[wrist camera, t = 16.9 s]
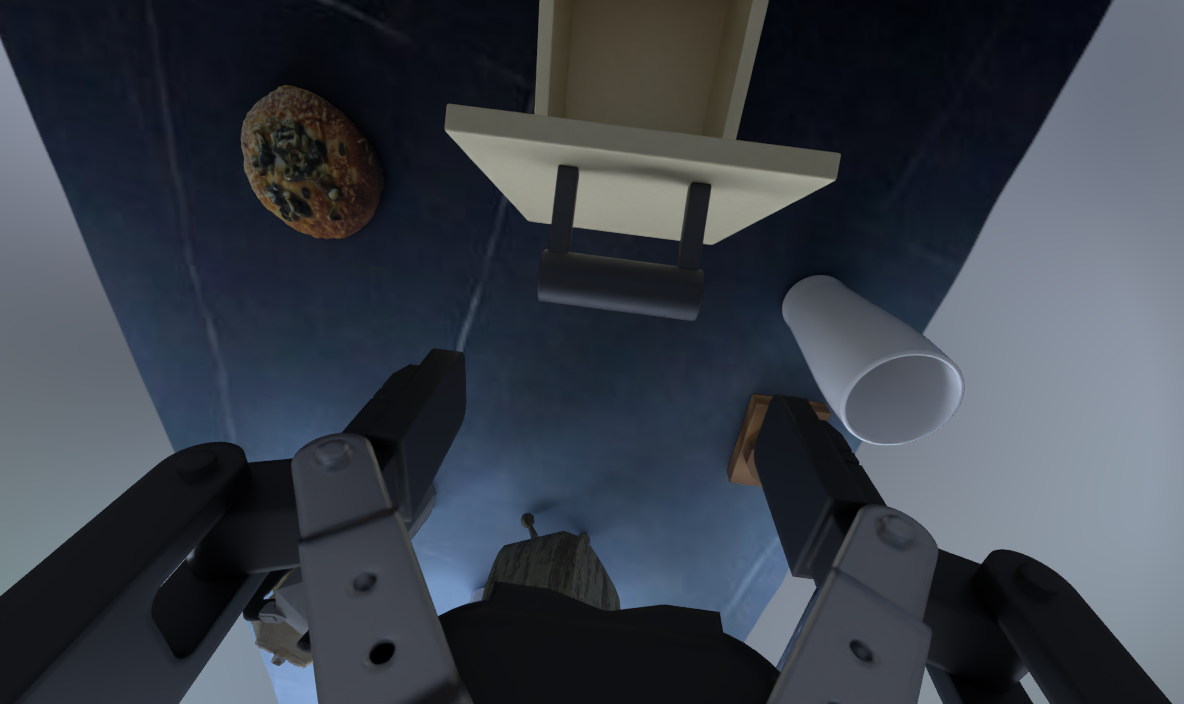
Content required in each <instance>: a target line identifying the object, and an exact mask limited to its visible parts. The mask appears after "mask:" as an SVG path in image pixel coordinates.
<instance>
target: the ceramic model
mask: <svg viewBox="0 0 1184 704" xmlns="http://www.w3.org/2000/svg"><path fill="white" fill-rule="evenodd" d="M296 568H297V567H295V568H294V569H293V570H292V571H291V572H289V573H288V574H287V575H285V576H284V577H283V578H282V579H281V580H280V581H279V583H278V584H277V585H276V586H275V587H274V588H273V595H272V596H271V597H270V598H269V599H272V598H276V589H277V588H279V586H280V585H281V584H282V583H283V582H284V581H285V580H286V579H287V578H288V577H289V576H290V575H291V574H292V573H293V572H294V570H295V569H296ZM251 624H253V629H254V632H255V636H256V642H255V644H256V645H257V646H258V647H259V648H261V649H263V650H265V651H267V652H269V653H274V656H273V658H272V661H271V663H273V664H275V665H278V666H280V665H281V664H283V663H284V662H285V660H288V661H289V662H290V663H292V664H293V665H296V666H298V667H301V668H305V667H307V666H308V665H311V664H313V658H312V653H307V652H303V651H301V650H300V649H298V648H297V642H298V641H299V640H300V639H301V638H302V636H303V635H302V634H300V633H299V632H298V631H297V630H295V629H294V628H293V627H292V626H290V625H289V624H288V623H287V622H286V621H283V622H282V623H280V624H277V623H265V622H264V621H252V622H251Z"/></svg>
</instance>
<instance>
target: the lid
mask: <svg viewBox="0 0 1184 704" xmlns="http://www.w3.org/2000/svg"><path fill="white" fill-rule="evenodd" d="M445 131H446V132H447V133H448V134H449V135H450V137H451V138H452V139H453V140H454V141H455V142H456V143H457V144H458V145H459V146H460V147H461V148H462V150H463V151H464V152H465V153H466V154H467V155H468V156H469V157H470V158H471V159H472V160H473V161H474V163H475V164H476V165H477V166H478V167H479V168H480V169H481V170H482V171H483V172H484V173H485V175H486V176H487V177H488V178H489V179H490V180H491V181H492V182H493V183H494V184H495V185H496V186H497V188H498V189H499V190H500V191H501V192H502V193H503V194H504V195H505V196H506V197H507V198H508V199H509V201H510V202H511V203H512V204H513V205H514V206H515V207H516V208H517V209H518V210H519V211H520V212H521V214H522V215H523V216H524V217H525V218H526V219H527V220H528V221H531V222H539V223H547V224H551V230H550V239H549V247H548V249H546V250H544V252H543V254H542V257H541V262H540V268H539V276H538V298H539V300H540V301H544V302H552V303H560V304H567V305H575V306H583V307H591V308H598V309H606V310H614V311H621V312H629V313H637V314H644V315H652V316H660V317H667V318H675V319H683V320H690V321H693V320H695V319H696V318H697V316H698V313H699V310H700V307H701V303H702V298H703V291H704V273H703V270H701V269H699V266H700V260H701V253H702V246H703V244H710V245H713V244H715V243H717V242H719V241H721V240H723V239H724V238H726V237H728V236H730V235H732V234H734V233H736V232H738V231H740V230H742V229H744V228H745V227H747V226H749V225H751V224H753V223H755V222H757V221H759V220H761V219H763V218H765V217H766V216H768V215H770V214H772V213H774V212H776V211H778V210H780V209H782V208H784V207H786V206H788V205H789V204H791V203H793V202H795V201H797V200H799V199H801V198H803V197H805V196H807V195H809V194H810V193H812V192H814V191H816V190H818V189H820V188H822V187H824V186H826V185H828V184H830V183H831V182H833V181H835V180H836V179H837V174H838V168H839V163H840V157H841V154H840V153H835V152H827V151H819V150H811V149H803V148H795V147H787V146H779V145H771V144H764V143H756V142H748V141H740V140H732V139H724V138H716V137H708V136H700V135H692V134H684V133H676V132H669V131H661V130H653V129H645V128H637V127H629V126H621V125H613V124H605V123H597V122H589V121H581V120H573V119H566V118H558V117H550V116H542V115H534V114H526V113H518V112H510V111H502V110H494V109H486V108H478V107H471V106H463V105H455V104H447V109H446V120H445ZM573 227H578V228H586V229H593V230H601V231H609V232H617V233H624V234H632V235H640V236H648V237H656V238H663V239H671V240H679V241H680V245H679V252H678V259H677V266H672V265H664V264H656V263H648V262H641V261H633V260H625V259H617V258H610V257H602V256H594V255H586V254H579V253H571V252H570V247H571V239H572V230H573Z"/></svg>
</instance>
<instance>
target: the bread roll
mask: <svg viewBox="0 0 1184 704" xmlns="http://www.w3.org/2000/svg"><path fill="white" fill-rule="evenodd" d="M241 143H242V146H241V148H242V151H243V154H244V169H245V173H246V174H247V176H248V179H249V182H250V184H251V186H252V189H253V191H254V192H255V193H256V195H257V197H258V198H259V199H260V201H261V202H262V204H263V205H264V206H265V207H266V208H267V209H268V210H270V211H272V212H273V214H275V215H276V216H278V217H279V218H281V219H282V220H283V221H284V222H285V223H286V224H288V225H289V226H291V227H292V228H294V229H296V230H297V231H299V232H302V233H305V234H309V235H312V236H313V237H315V238H325V239H329V238H337V239H341V238H346V237H348V236H350V235H352V234H355V233H356V232H358V231H359V230H360V229H361V228H363V227H364V226H365V225H367V224H368V223H369V221H370V220H371V219H372V217H373V216H374V214H375V209H376V207H377V206H378V204H379V200H380V196H381V194H382V191H383V190H384V188H385V186H384V184H385V181H384V180H385V176H384V170H383V167H382V165H381V163H380V160H379V158H378V156H377V154H376V151H375V149H374V147H373V146H372V145H370V144H369V142H368V140H367V137H366V136H365V135H364V134H363V133H362V131H361V130H360V129H359V127H357V126H356V125H355V123H353V122H352V121H351V120H350V119H349V118H348V117H347V116H346V115H344V113H343V112H342V111H340V110H338V109H336V108H335V107H334V106H332V105H331V104H330V103H328V102H327V101H326V100H324V99H323V98H321V97H319V96H318V95H317V94H314V93H312V92H310V91H307V90H304V89H300V88H297V87H294V86H287V85H284V86H282V87H278V89H277V90H275V91H273V92H270V93H269V95H268V96H266V97H264V98H262V99H261V100H260V101H259V102H257V103H256V104H255V105H254V107H253V108H252V109H251V110H250V111H249V112H248V113H247V117H246V119H245V120H244V121H243V126H242V134H241Z"/></svg>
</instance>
